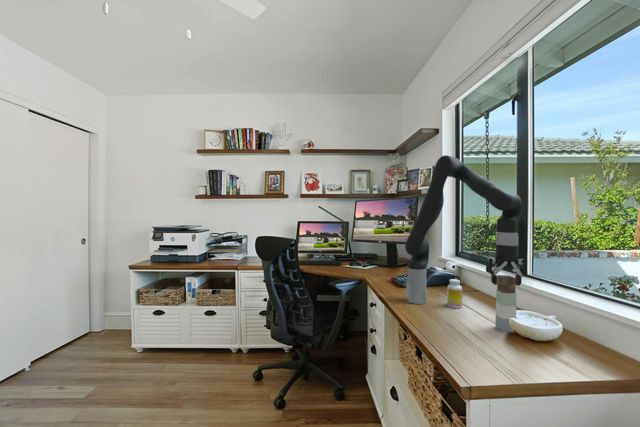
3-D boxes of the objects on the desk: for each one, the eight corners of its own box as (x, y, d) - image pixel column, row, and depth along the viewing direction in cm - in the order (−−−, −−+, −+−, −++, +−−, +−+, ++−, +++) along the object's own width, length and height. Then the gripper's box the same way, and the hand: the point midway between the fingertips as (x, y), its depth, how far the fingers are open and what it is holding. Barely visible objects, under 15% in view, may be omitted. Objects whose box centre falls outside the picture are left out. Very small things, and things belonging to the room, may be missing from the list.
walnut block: (503, 292, 113) (503, 277, 112) (497, 289, 117) (497, 274, 117) (515, 293, 112) (515, 277, 112) (509, 290, 117) (509, 275, 117)
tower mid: (502, 318, 112) (502, 305, 112) (495, 314, 117) (496, 302, 117) (516, 319, 112) (516, 306, 112) (508, 315, 117) (509, 302, 117)
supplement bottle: (463, 309, 139) (464, 282, 138) (448, 308, 140) (449, 281, 140) (459, 304, 145) (460, 279, 145) (445, 303, 146) (446, 278, 146)
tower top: (502, 305, 112) (502, 293, 112) (496, 302, 117) (496, 289, 117) (516, 306, 112) (516, 293, 112) (509, 302, 117) (509, 290, 117)
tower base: (502, 331, 112) (502, 318, 112) (495, 326, 117) (495, 314, 117) (515, 332, 112) (515, 319, 112) (508, 327, 117) (508, 315, 117)
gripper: (520, 243, 118) (519, 283, 118) (483, 242, 119) (482, 281, 119) (532, 245, 110) (531, 288, 110) (492, 244, 112) (491, 286, 112)
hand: (506, 284), depth 115 cm, fingers open, 8 cm apart
